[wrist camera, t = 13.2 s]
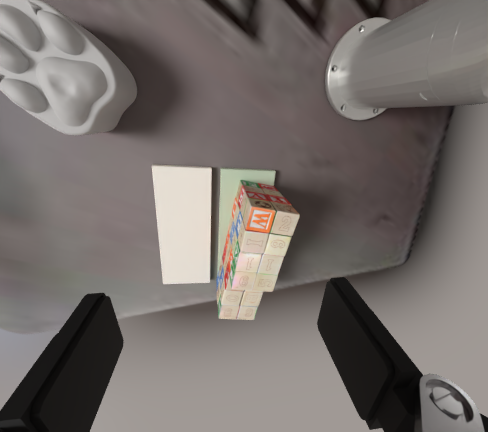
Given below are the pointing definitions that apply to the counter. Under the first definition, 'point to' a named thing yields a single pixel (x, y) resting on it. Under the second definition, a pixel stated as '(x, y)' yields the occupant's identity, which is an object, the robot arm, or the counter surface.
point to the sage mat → (228, 194)
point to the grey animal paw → (61, 70)
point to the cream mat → (183, 222)
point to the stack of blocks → (253, 248)
